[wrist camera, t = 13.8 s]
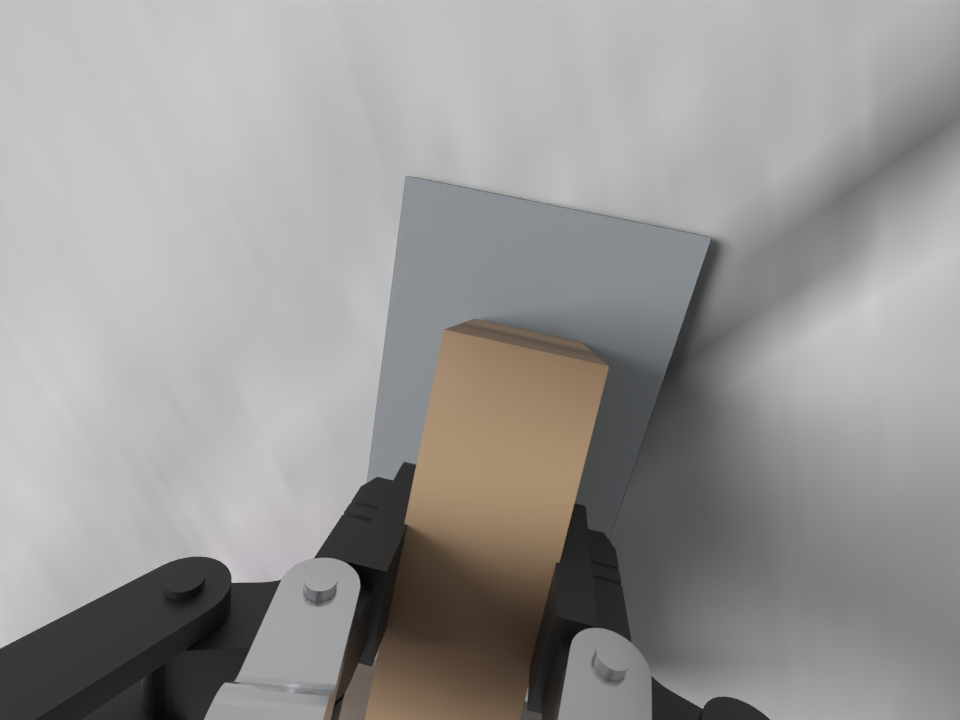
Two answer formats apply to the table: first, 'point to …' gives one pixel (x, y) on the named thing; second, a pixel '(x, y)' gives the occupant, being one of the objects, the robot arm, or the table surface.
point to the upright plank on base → (483, 526)
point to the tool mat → (534, 313)
